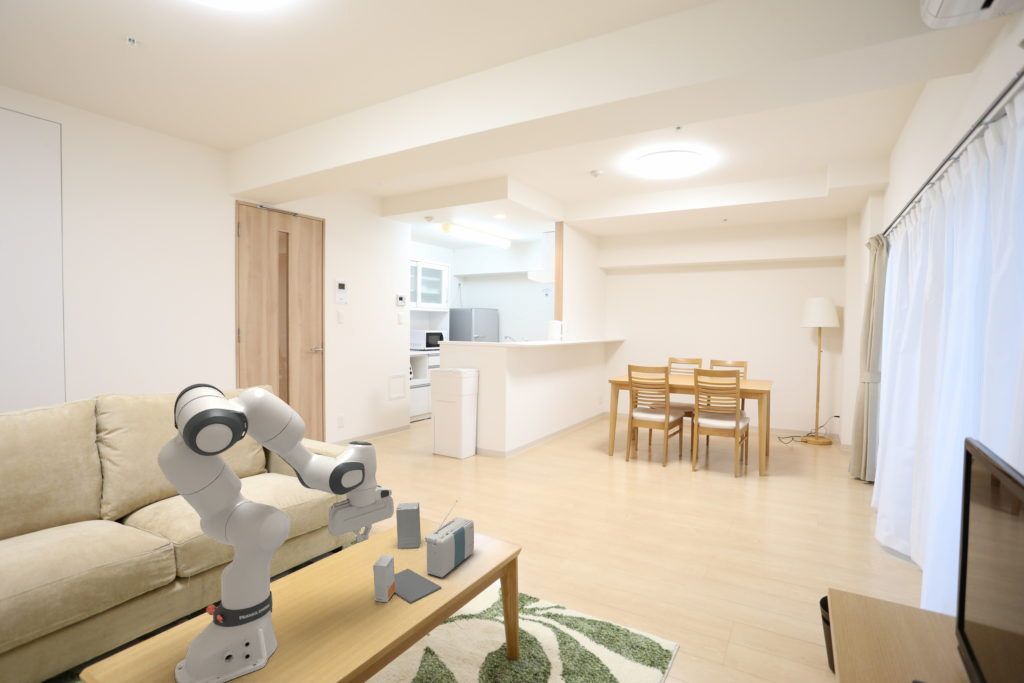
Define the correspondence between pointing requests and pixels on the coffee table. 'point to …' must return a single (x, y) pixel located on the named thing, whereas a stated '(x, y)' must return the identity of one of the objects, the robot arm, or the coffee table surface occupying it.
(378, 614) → the coffee table surface
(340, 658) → the coffee table surface
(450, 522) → the stereo radio cassette player
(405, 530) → the skincare box
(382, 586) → the skincare box
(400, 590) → the mat
